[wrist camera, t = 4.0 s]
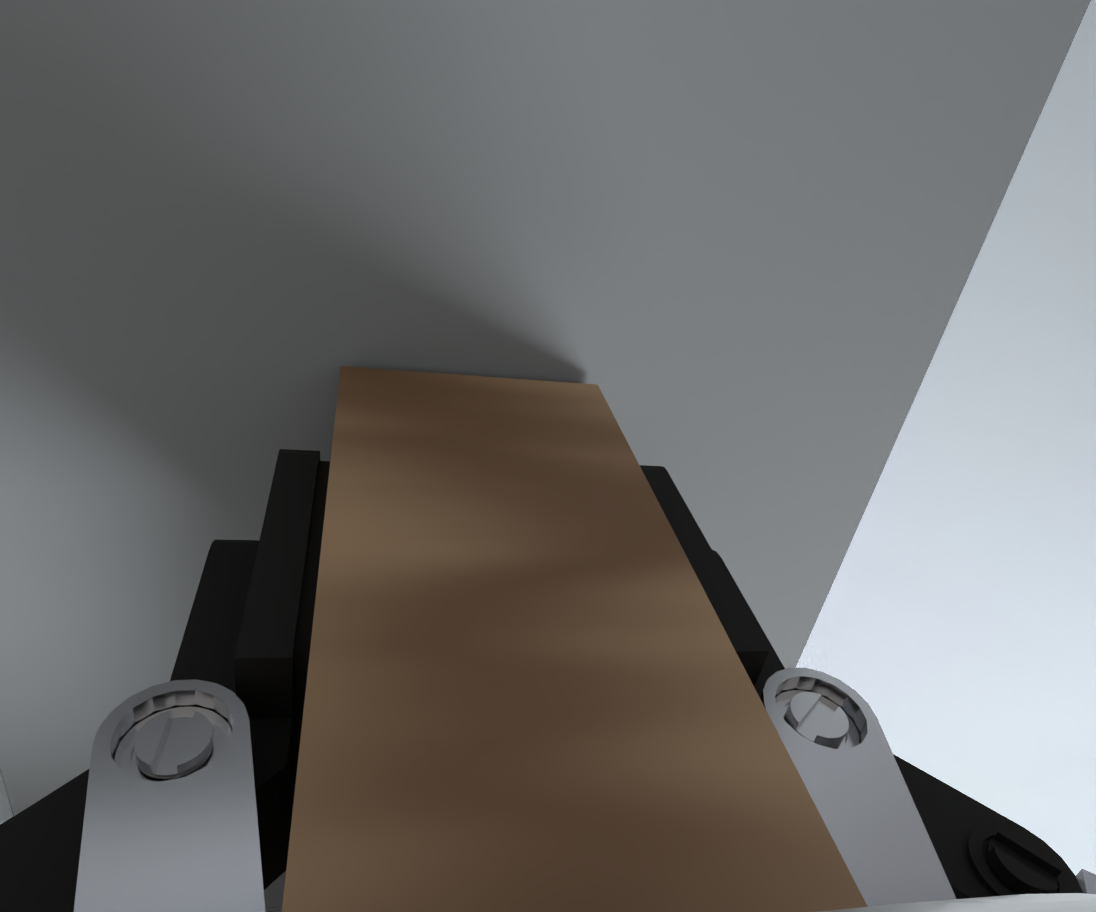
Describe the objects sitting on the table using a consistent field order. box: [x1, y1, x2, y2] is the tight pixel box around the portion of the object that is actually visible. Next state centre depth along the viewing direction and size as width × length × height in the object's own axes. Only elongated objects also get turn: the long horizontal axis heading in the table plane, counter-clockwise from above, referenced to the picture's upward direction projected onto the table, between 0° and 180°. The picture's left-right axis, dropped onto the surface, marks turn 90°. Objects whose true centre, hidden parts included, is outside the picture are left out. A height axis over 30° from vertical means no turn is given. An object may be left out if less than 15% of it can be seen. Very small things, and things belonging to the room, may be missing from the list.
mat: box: [0, 0, 1091, 816], centre depth 16 cm, size 16×32×1 cm, turn 170°
